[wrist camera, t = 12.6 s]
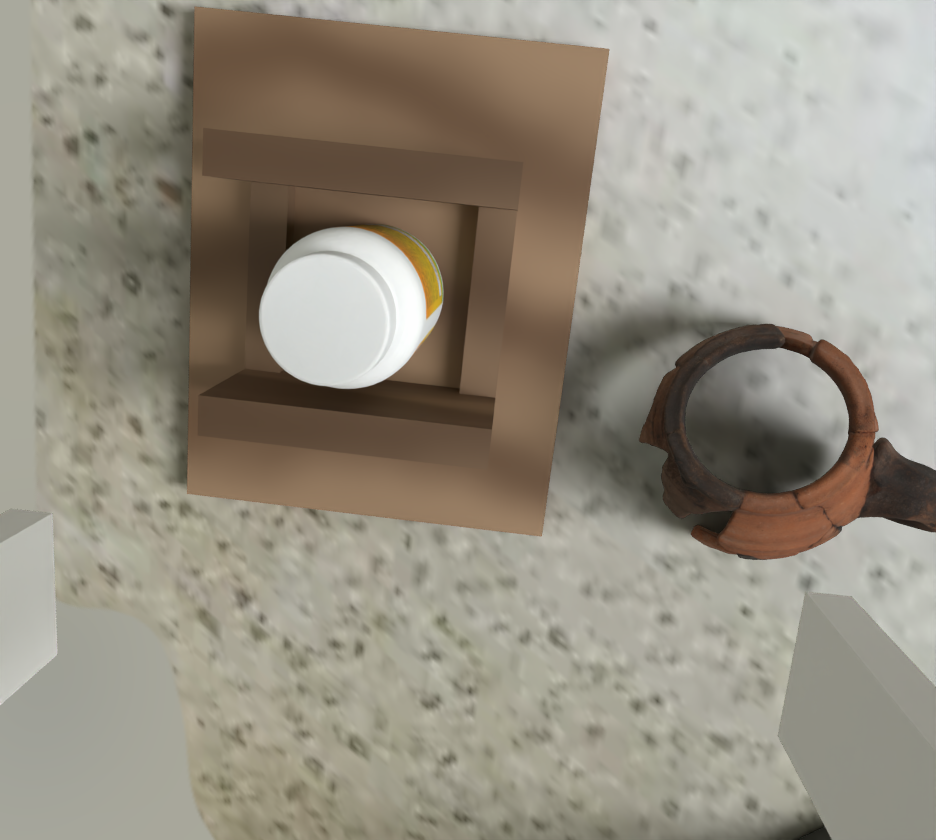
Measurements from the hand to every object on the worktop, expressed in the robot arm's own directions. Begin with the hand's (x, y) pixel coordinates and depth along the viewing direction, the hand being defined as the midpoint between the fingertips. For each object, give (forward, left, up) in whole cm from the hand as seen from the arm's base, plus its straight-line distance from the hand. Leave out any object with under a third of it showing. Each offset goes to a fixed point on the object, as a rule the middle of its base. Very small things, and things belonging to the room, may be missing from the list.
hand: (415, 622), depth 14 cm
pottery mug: (-1, -13, -22) cm, 26 cm away
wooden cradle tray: (+3, +4, -22) cm, 22 cm away
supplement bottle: (+3, +4, -21) cm, 21 cm away
